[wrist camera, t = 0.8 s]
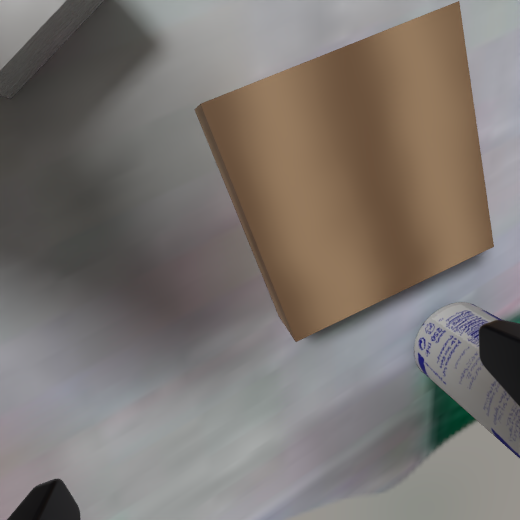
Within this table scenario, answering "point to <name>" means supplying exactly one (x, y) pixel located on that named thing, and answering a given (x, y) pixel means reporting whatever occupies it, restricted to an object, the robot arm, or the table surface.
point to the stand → (356, 170)
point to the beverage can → (467, 369)
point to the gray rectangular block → (35, 35)
